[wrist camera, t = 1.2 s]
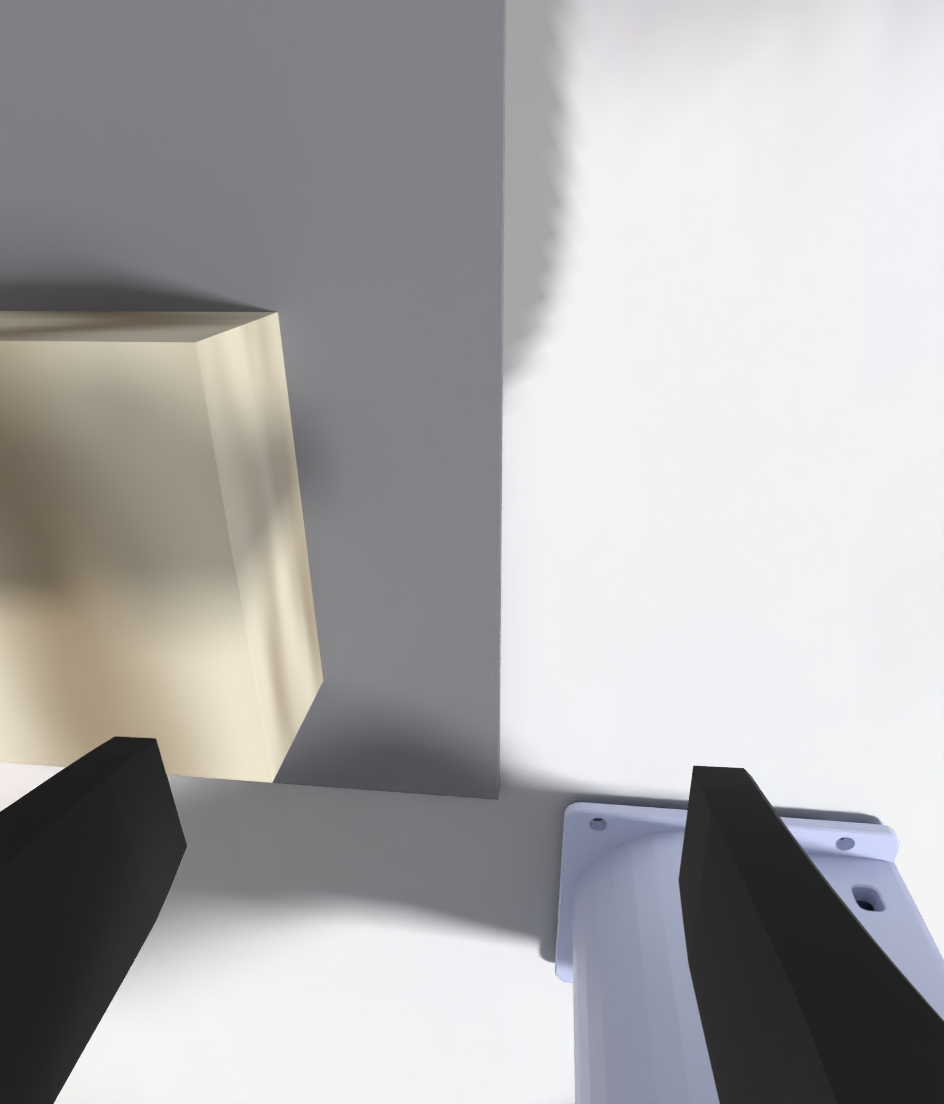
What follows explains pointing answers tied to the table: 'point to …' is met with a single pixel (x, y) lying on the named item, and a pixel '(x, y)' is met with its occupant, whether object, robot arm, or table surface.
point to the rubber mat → (308, 304)
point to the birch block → (151, 541)
